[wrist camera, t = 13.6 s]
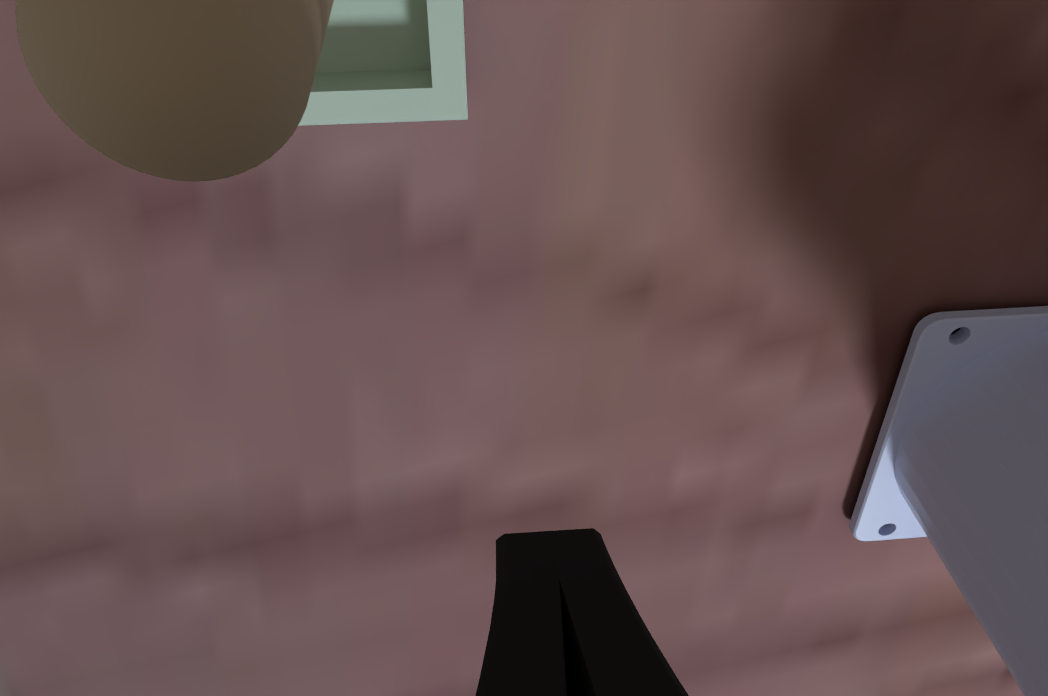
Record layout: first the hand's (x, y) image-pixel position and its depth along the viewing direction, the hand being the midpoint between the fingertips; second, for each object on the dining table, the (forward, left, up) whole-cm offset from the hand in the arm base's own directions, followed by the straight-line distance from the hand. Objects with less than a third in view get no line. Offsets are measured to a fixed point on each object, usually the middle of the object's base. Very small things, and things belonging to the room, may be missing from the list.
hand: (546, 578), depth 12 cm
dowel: (+4, -7, -8) cm, 12 cm away
